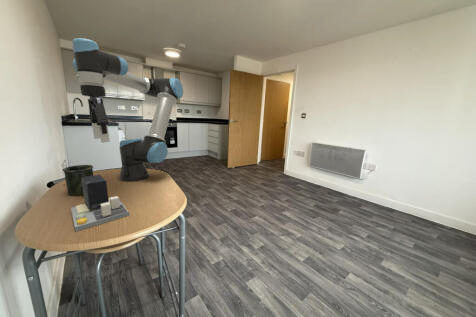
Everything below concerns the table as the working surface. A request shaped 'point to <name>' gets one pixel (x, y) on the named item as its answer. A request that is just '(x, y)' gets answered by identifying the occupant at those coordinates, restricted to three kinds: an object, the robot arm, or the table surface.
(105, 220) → the breaker panel
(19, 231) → the table surface
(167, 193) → the table surface
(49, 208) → the table surface
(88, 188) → the small box
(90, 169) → the mug
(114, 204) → the toggle
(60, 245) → the table surface
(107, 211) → the toggle
